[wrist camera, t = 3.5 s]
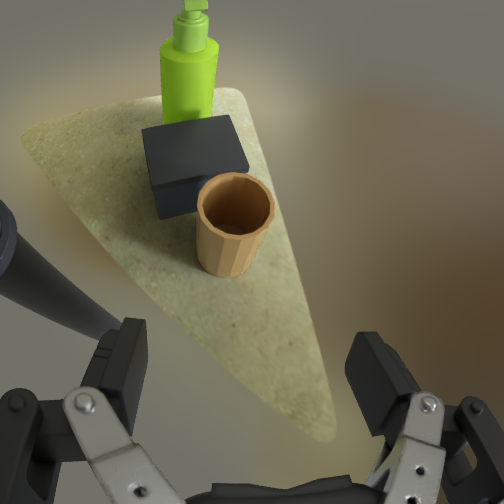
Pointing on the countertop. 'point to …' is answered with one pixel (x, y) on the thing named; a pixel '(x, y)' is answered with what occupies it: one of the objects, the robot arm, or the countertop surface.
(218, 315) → the countertop surface
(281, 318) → the countertop surface
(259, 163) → the countertop surface
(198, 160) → the dark grey box
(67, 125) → the countertop surface
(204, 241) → the cup
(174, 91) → the soap dispenser
